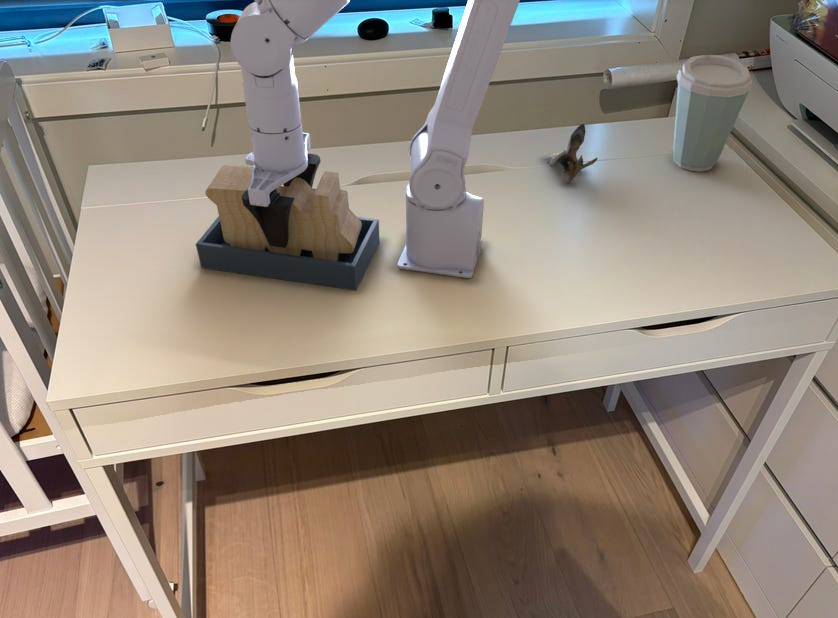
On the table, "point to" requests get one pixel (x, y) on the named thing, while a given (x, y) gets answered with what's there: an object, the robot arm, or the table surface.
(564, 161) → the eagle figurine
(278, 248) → the toy train
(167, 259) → the table surface
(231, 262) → the open box
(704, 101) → the disposable coffee cup
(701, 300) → the table surface
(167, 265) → the table surface
